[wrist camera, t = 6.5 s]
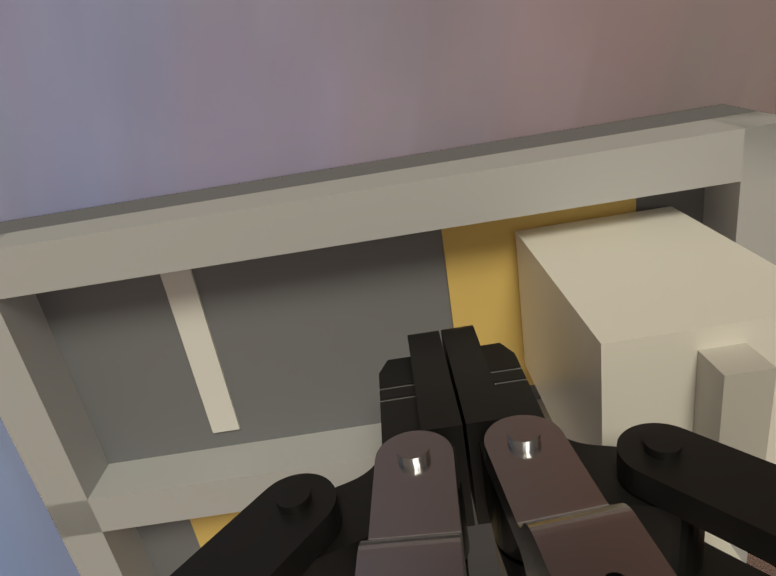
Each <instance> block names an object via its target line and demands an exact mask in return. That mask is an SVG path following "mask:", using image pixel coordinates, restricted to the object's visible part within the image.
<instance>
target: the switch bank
mask: <svg viewBox="0 0 776 576" xmlns="http://www.w3.org/2000/svg"><path fill="white" fill-rule="evenodd" d="M669 206H672V207H674V208H675V209H677V210H679V211H681V212H682V213H684V214H686V215H688V216H689V217H691V218H693V219H695V220H697V221H698V222H700V223H702V224H704V225H705V226H707V227H709V228H711V229H712V230H714V231H716V232H718V233H719V234H721V235H723V236H725V237H727V238H728V239H730V240H732V241H734V242H735V243H737V244H739V245H741V246H742V247H744V248H746V249H748V250H749V251H751V252H753V253H755V254H757V255H758V256H760V257H762V258H764V259H765V260H767V261H769V262H771V263H772V264H774V265H776V115H775V114H770V113H765V112H760V111H755V110H750V109H745V108H740V107H735V106H730V105H725V104H723V105H717V106H710V107H704V108H698V109H692V110H686V111H680V112H674V113H667V114H661V115H655V116H649V117H643V118H637V119H631V120H624V121H618V122H612V123H606V124H600V125H594V126H588V127H581V128H575V129H569V130H563V131H557V132H551V133H545V134H538V135H532V136H526V137H520V138H514V139H508V140H502V141H496V142H489V143H483V144H477V145H471V146H465V147H459V148H453V149H446V150H440V151H434V152H428V153H422V154H416V155H410V156H403V157H397V158H391V159H385V160H379V161H373V162H367V163H360V164H354V165H348V166H342V167H336V168H330V169H324V170H317V171H311V172H305V173H299V174H293V175H287V176H281V177H275V178H268V179H262V180H256V181H250V182H244V183H238V184H232V185H225V186H219V187H213V188H207V189H201V190H195V191H189V192H182V193H176V194H170V195H164V196H158V197H152V198H146V199H139V200H133V201H127V202H121V203H115V204H109V205H103V206H96V207H90V208H84V209H78V210H72V211H66V212H60V213H53V214H47V215H41V216H35V217H29V218H23V219H17V220H11V221H4V222H0V417H1V419H2V421H3V423H4V425H5V427H6V429H7V431H8V433H9V435H10V437H11V439H12V441H13V443H14V445H15V447H16V449H17V451H18V453H19V454H20V456H21V458H22V460H23V462H24V464H25V466H26V468H27V470H28V472H29V474H30V476H31V478H32V480H33V482H34V484H35V486H36V488H37V490H38V492H39V494H40V496H41V498H42V500H43V502H44V504H45V506H46V508H47V510H48V512H49V514H50V516H51V518H52V520H53V522H54V524H55V526H56V528H57V530H58V532H59V534H60V536H61V538H62V540H63V542H64V544H65V546H66V548H67V550H68V552H69V554H70V556H71V558H72V560H73V562H74V564H75V566H76V568H77V570H78V572H79V574H80V576H170V575H171V574H172V573H173V572H174V571H175V570H176V569H178V568H179V567H180V566H181V565H182V564H183V563H184V562H185V561H187V560H188V559H189V558H190V557H191V556H192V555H193V554H194V553H195V552H197V551H198V550H199V549H200V548H201V547H202V546H203V545H204V544H206V543H207V542H208V541H209V540H210V539H211V538H212V537H213V536H214V535H216V534H217V533H218V532H219V531H220V530H221V529H222V528H223V527H225V526H226V525H227V524H228V523H229V522H230V521H231V520H232V519H233V518H235V517H236V516H237V515H238V514H239V513H240V512H241V511H242V510H244V509H245V508H246V507H247V506H248V505H249V504H250V503H251V502H252V501H254V500H255V499H256V498H257V497H258V496H259V495H260V494H261V493H263V492H264V491H265V490H266V489H267V488H268V487H270V486H271V485H272V484H274V483H275V482H277V481H279V480H281V479H283V478H286V477H288V476H291V475H296V474H303V473H312V474H318V475H321V476H323V477H325V478H327V479H328V480H329V481H331V482H332V484H333V485H334V487H337V486H340V485H342V484H345V483H347V482H350V481H352V480H354V479H356V478H358V477H360V476H362V475H363V474H365V473H366V472H367V471H369V470H370V469H371V468H372V467H373V466H374V465H375V457H376V454H377V451H378V450H379V448H380V447H381V446H382V433H381V411H380V388H379V373H380V371H381V370H382V368H383V366H384V365H385V363H386V362H387V360H391V359H398V358H404V357H410V351H409V344H408V337H407V335H412V334H418V333H425V332H431V331H439V334H440V338H441V342H442V337H441V330H444V329H450V328H456V327H463V326H469V325H473V327H474V329H475V332H476V335H477V337H478V340H479V343H480V345H488V344H494V343H501V344H502V345H504V346H505V347H507V348H508V349H510V350H511V351H513V352H514V353H515V355H516V357H517V359H518V361H519V363H520V366H521V369H522V370H523V372H524V374H525V376H526V380H528V383H529V385H530V387H531V389H532V391H533V393H534V395H535V397H536V400H537V402H538V404H539V406H540V408H541V410H542V412H543V414H544V417H545V419H547V420H550V421H551V422H553V421H552V419H551V417H550V415H549V413H548V411H547V409H546V407H545V405H544V403H543V401H542V399H541V397H540V395H539V393H538V390H537V388H536V386H535V384H534V382H533V380H532V378H531V376H530V374H529V372H528V370H527V368H526V366H525V360H524V346H523V332H522V318H521V305H520V291H519V277H518V263H517V249H516V235H515V231H518V230H524V229H531V228H537V227H543V226H550V225H556V224H562V223H569V222H575V221H581V220H587V219H594V218H600V217H606V216H613V215H619V214H625V213H632V212H638V211H644V210H651V209H657V208H663V207H669ZM442 346H443V345H442ZM471 497H472V495H471ZM472 505H473V513H474V521H475V526H468V527H467V528H468V536H469V544H470V549H469V554H468V562H469V571H470V576H503V575H502V572H501V569H500V567H499V564H498V560H497V556H496V547H495V537H494V533H493V529H492V525H491V523H487V524H480V525H478V520H477V516H476V512H475V508H474V503H473V499H472ZM731 546H732V547H733V549H734V550H735V551H736V553H737V554H738V556H739V557H740V558H741V560H742V561H743V562H745V563H746V562H747V554H748V552H746V551H744V550H742V549H740V548H738V547H736V546H734V545H732V544H731Z"/></svg>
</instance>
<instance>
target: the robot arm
mask: <svg viewBox="0 0 776 576" xmlns="http://www.w3.org/2000/svg"><path fill="white" fill-rule="evenodd" d="M407 337H408V344H409V351H410V357H404V358H398V359H391V360H387V362H386V363H385V365H384V366H383V368H382V370H381V371H380V373H379V388H380V411H381V433H382V446H381V447H380V448H379V450H378V451H377V454H376V457H375V465H374V466H373V467H372V468H371V469H370V470H369V471H367V472H366V473H365V474H363V475H362V476H360V477H358V478H356V479H354V480H352V481H350V482H347V483H345V484H342V485H340V486H337V487H334V485H333V484H332V482H331V481H329V480H328V479H327V478H325V477H323V476H321V475H318V474H312V473H303V474H296V475H291V476H288V477H286V478H283V479H281V480H279V481H277V482H275V483H274V484H272V485H271V486H270V487H268V488H267V489H266V490H265V491H264V492H263V493H261V494H260V495H259V496H258V497H257V498H256V499H255V500H254V501H252V502H251V503H250V504H249V505H248V506H247V507H246V508H245V509H244V510H242V511H241V512H240V513H239V514H238V515H237V516H236V517H235V518H233V519H232V520H231V521H230V522H229V523H228V524H227V525H226V526H225V527H223V528H222V529H221V530H220V531H219V532H218V533H217V534H216V535H214V536H213V537H212V538H211V539H210V540H209V541H208V542H207V543H206V544H204V545H203V546H202V547H201V548H200V549H199V550H198V551H197V552H195V553H194V554H193V555H192V556H191V557H190V558H189V559H188V560H187V561H185V562H184V563H183V564H182V565H181V566H180V567H179V568H178V569H176V570H175V571H174V572H173V573H172V574H171V575H170V576H470V571H469V562H468V554H469V549H470V544H469V536H468V528H467V527H468V526H475V521H474V513H473V505H472V499H473V503H474V508H475V512H476V516H477V520H478V525H480V524H487V523H491V525H492V529H493V533H494V537H495V547H496V556H497V560H498V564H499V567H500V569H501V572H502V575H503V576H770V575H768V574H766V573H764V572H762V571H760V570H758V569H756V568H754V567H752V566H750V565H749V564H747V563H745V562H743V561H741V560H739V559H737V558H735V557H733V556H731V555H729V554H727V553H725V552H723V551H721V550H720V549H718V548H716V547H714V546H712V545H710V544H708V543H706V542H704V539H705V531H706V532H708V533H710V534H712V535H714V536H716V537H718V538H720V539H722V540H724V541H726V542H728V543H730V544H732V545H734V546H736V547H738V548H740V549H742V550H744V551H746V552H748V553H750V554H752V555H754V556H756V557H758V558H760V559H762V560H764V561H766V562H768V563H769V564H771V565H773V566H774V567H776V464H773V463H771V462H768V461H766V460H763V459H761V458H758V457H755V456H753V455H750V454H748V453H745V452H743V451H740V450H738V449H735V448H732V447H730V446H727V445H725V444H722V443H720V442H717V441H714V440H712V439H709V438H707V437H704V436H702V435H699V434H696V433H694V432H691V431H689V430H686V429H684V428H681V427H678V426H674V425H670V424H663V423H645V424H639V425H636V426H633V427H631V428H629V429H627V430H625V431H624V432H623V433H622V434H621V435H620V436H619V438H618V440H617V447H615V446H602V445H590V444H584V443H579V442H575V441H572V440H570V439H567V438H566V436H565V435H564V433H563V431H562V430H561V429H560V428H559V427H558V426H557V425H556V424H555V423H553V422H551V421H550V420H547V419H545V417H544V414H543V412H542V410H541V408H540V406H539V404H538V402H537V400H536V397H535V395H534V393H533V391H532V389H531V387H530V385H529V383H528V380H526V376H525V374H524V372H523V370H522V369H521V366H520V363H519V361H518V359H517V357H516V355H515V353H514V352H513V351H511V350H510V349H508V348H507V347H505V346H504V345H502V344H501V343H494V344H488V345H480V343H479V340H478V337H477V335H476V332H475V329H474V327H473V325H469V326H463V327H456V328H450V329H444V330H441V337H442V342H441V338H440V334H439V331H431V332H425V333H418V334H412V335H407ZM442 345H443V346H442ZM471 495H472V497H471Z"/></svg>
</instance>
